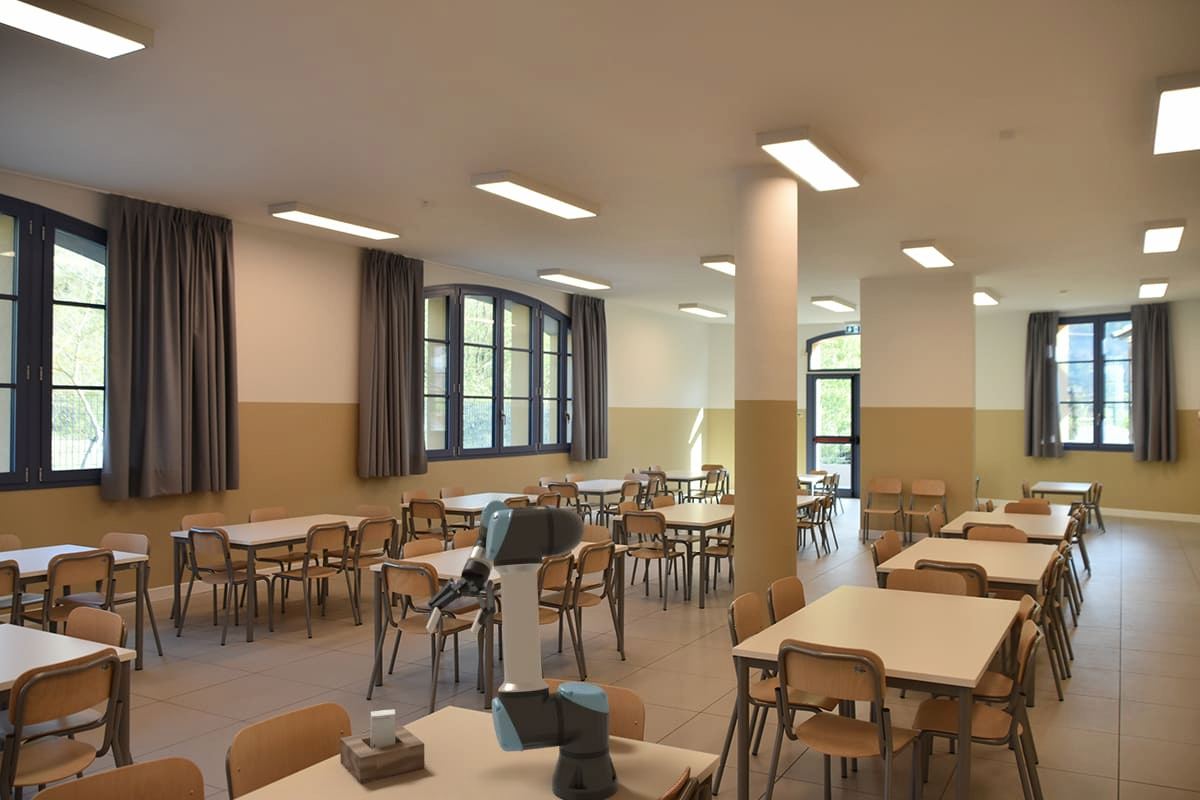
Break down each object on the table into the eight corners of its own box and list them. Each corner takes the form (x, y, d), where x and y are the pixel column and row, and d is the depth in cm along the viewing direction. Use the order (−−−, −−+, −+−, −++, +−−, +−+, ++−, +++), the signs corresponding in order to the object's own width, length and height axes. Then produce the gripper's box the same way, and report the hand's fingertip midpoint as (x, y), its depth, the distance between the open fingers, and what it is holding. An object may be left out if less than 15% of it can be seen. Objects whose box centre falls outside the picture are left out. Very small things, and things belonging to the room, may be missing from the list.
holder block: (424, 768, 210) (424, 743, 210) (360, 783, 201) (360, 757, 201) (401, 748, 223) (401, 725, 223) (340, 762, 214) (340, 738, 215)
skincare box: (370, 765, 209) (370, 716, 210) (370, 759, 213) (370, 711, 214) (396, 762, 211) (395, 713, 211) (395, 756, 215) (395, 708, 215)
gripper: (522, 577, 239) (497, 643, 224) (445, 573, 248) (416, 636, 233) (513, 560, 234) (487, 627, 219) (435, 557, 243) (405, 621, 228)
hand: (450, 632), depth 226 cm, fingers open, 13 cm apart
